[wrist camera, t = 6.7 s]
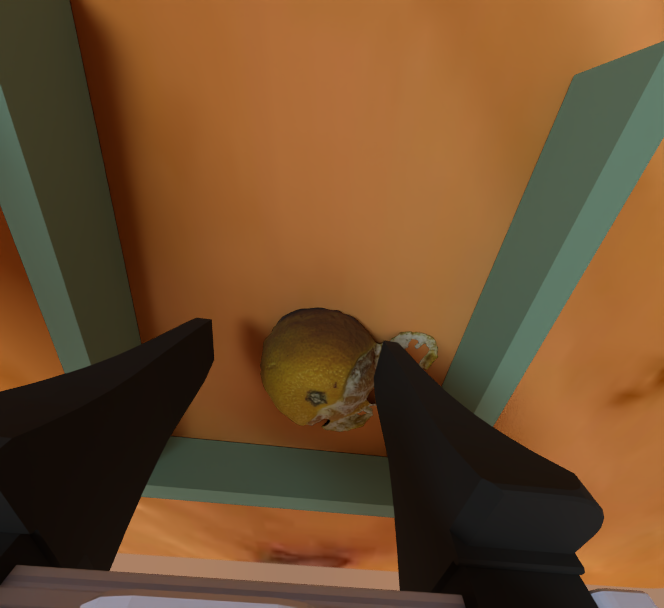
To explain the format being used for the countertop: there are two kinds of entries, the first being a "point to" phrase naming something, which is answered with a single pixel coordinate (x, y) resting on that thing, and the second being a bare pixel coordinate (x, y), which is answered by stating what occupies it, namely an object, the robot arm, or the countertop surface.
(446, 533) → the robot arm
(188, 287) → the countertop surface
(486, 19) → the countertop surface
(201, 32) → the countertop surface
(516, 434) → the countertop surface
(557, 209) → the green u-shaped bracket
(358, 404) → the fruit
